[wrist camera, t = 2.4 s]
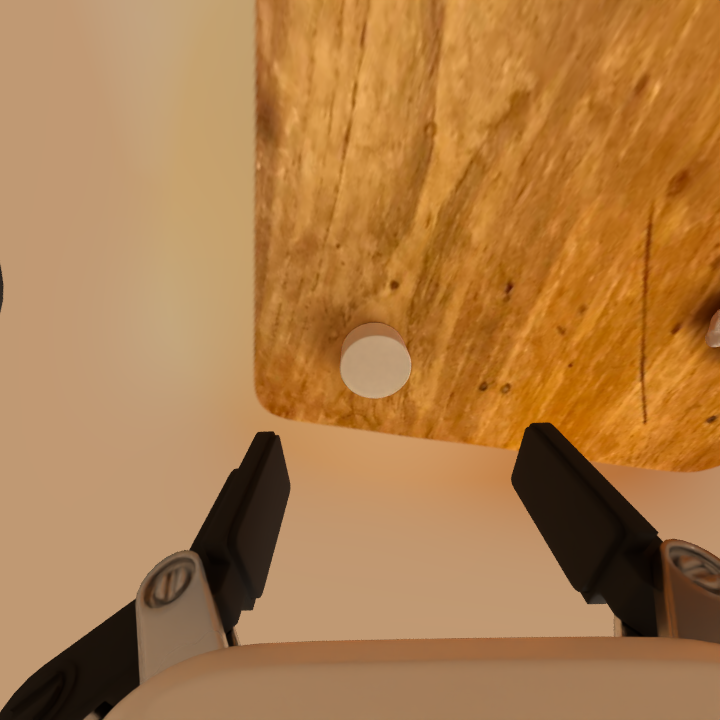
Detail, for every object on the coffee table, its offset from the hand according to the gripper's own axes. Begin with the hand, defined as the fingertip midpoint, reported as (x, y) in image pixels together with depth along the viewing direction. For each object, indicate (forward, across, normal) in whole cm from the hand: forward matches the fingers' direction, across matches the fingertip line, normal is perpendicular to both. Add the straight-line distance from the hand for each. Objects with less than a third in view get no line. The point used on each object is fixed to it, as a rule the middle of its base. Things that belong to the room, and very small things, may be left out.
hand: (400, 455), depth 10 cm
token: (+9, +1, 0) cm, 9 cm away
